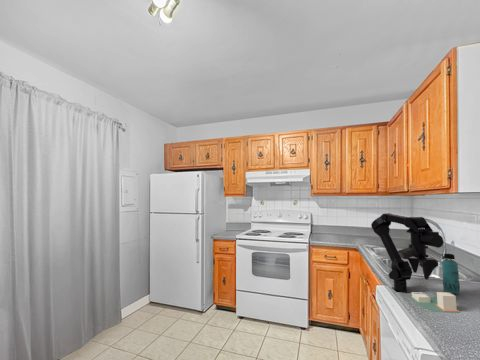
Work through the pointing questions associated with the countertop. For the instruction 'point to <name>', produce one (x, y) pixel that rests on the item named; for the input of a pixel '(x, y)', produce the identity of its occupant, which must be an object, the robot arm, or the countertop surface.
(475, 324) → the countertop surface
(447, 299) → the stub
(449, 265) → the beverage bottle
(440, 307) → the coaster
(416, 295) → the spiral notebook
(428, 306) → the mat
